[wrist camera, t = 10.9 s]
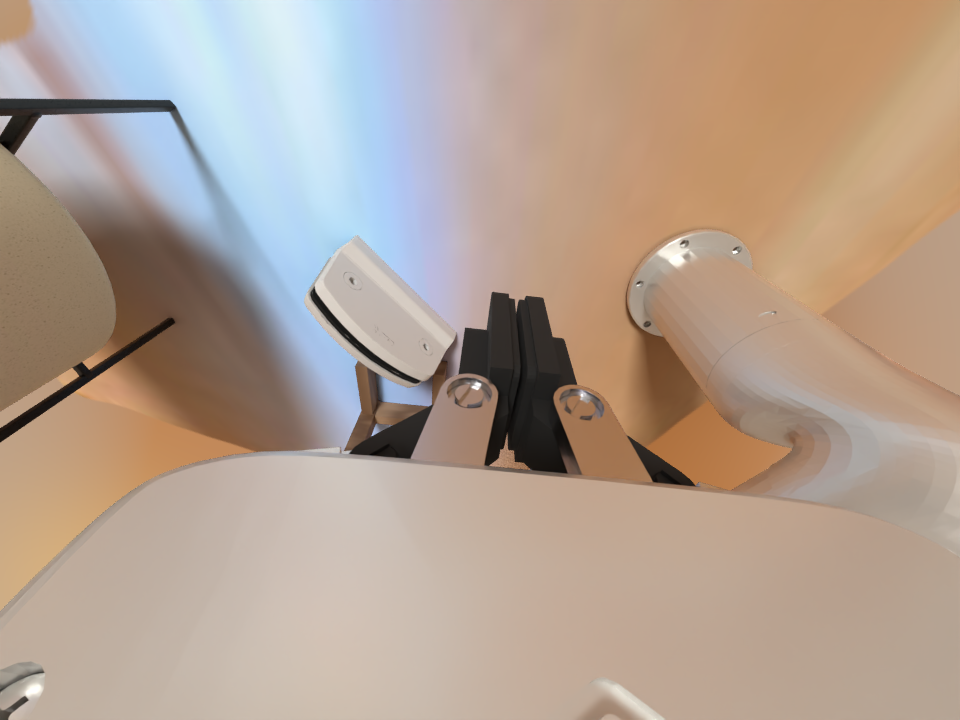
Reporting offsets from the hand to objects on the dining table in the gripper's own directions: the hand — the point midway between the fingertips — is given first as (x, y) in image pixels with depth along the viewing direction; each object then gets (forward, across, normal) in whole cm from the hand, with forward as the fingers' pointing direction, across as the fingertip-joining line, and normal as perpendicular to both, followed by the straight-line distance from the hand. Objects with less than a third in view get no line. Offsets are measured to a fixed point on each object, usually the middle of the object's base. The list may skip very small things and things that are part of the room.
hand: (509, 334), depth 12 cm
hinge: (+28, +11, +14) cm, 33 cm away
